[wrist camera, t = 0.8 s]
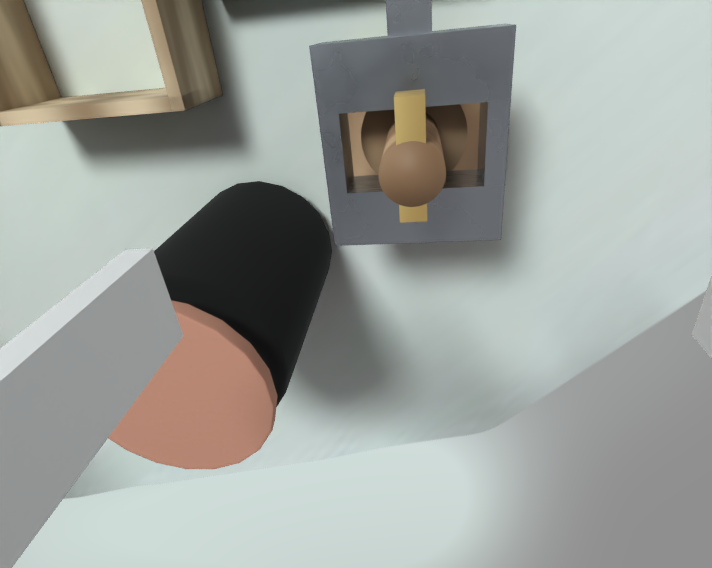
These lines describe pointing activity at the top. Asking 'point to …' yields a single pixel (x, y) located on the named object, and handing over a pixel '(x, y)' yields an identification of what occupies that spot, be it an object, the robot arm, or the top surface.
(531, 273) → the top surface
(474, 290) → the top surface
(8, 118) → the crate
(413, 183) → the handle
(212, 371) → the coffee jar
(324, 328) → the top surface
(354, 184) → the gray rectangular frame
